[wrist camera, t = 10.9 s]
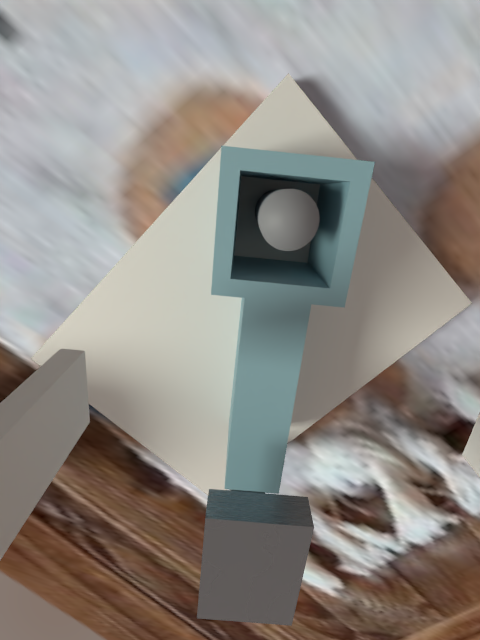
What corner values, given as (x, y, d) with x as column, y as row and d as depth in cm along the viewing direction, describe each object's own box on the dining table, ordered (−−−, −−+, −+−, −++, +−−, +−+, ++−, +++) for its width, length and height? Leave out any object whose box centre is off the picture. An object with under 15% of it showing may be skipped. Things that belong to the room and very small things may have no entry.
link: (228, 159, 19) (221, 145, 14) (337, 170, 19) (374, 161, 14) (207, 420, 25) (197, 486, 19) (291, 427, 25) (305, 495, 20)
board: (285, 81, 19) (311, 12, 12) (458, 296, 23) (559, 346, 16) (42, 349, 25) (-44, 417, 18) (215, 485, 29) (204, 587, 22)
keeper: (222, 373, 26) (205, 518, 14) (283, 379, 26) (313, 527, 14) (216, 443, 28) (197, 618, 16) (272, 448, 28) (291, 625, 16)
